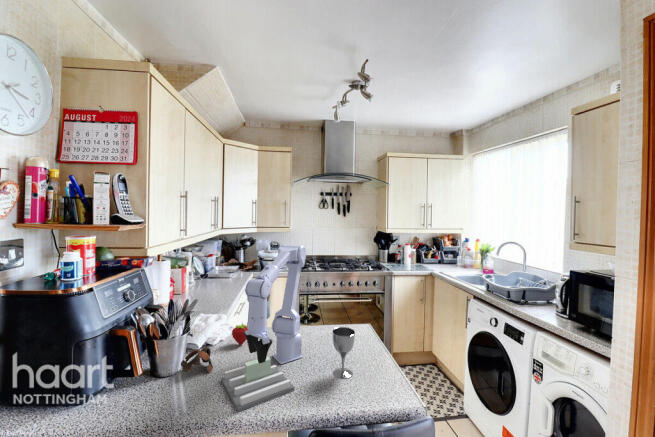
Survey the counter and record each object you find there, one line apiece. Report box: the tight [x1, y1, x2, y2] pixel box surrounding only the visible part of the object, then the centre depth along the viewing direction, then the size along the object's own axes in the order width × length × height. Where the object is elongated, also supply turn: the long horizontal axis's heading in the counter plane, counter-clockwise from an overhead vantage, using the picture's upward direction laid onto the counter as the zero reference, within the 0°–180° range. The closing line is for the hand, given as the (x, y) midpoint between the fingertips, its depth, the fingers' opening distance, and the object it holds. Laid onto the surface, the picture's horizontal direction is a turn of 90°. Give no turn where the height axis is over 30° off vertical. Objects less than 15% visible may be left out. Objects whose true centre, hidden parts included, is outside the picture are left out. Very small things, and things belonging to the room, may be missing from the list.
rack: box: [220, 362, 295, 413], centre depth 93 cm, size 18×18×3 cm
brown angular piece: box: [180, 346, 214, 374], centre depth 102 cm, size 12×10×8 cm
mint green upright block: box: [244, 355, 272, 384], centre depth 93 cm, size 8×2×7 cm, turn 125°
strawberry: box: [231, 322, 248, 346], centre depth 121 cm, size 6×8×10 cm
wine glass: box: [331, 326, 356, 380], centre depth 101 cm, size 8×8×15 cm
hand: (257, 357), depth 93 cm, fingers open, 7 cm apart
